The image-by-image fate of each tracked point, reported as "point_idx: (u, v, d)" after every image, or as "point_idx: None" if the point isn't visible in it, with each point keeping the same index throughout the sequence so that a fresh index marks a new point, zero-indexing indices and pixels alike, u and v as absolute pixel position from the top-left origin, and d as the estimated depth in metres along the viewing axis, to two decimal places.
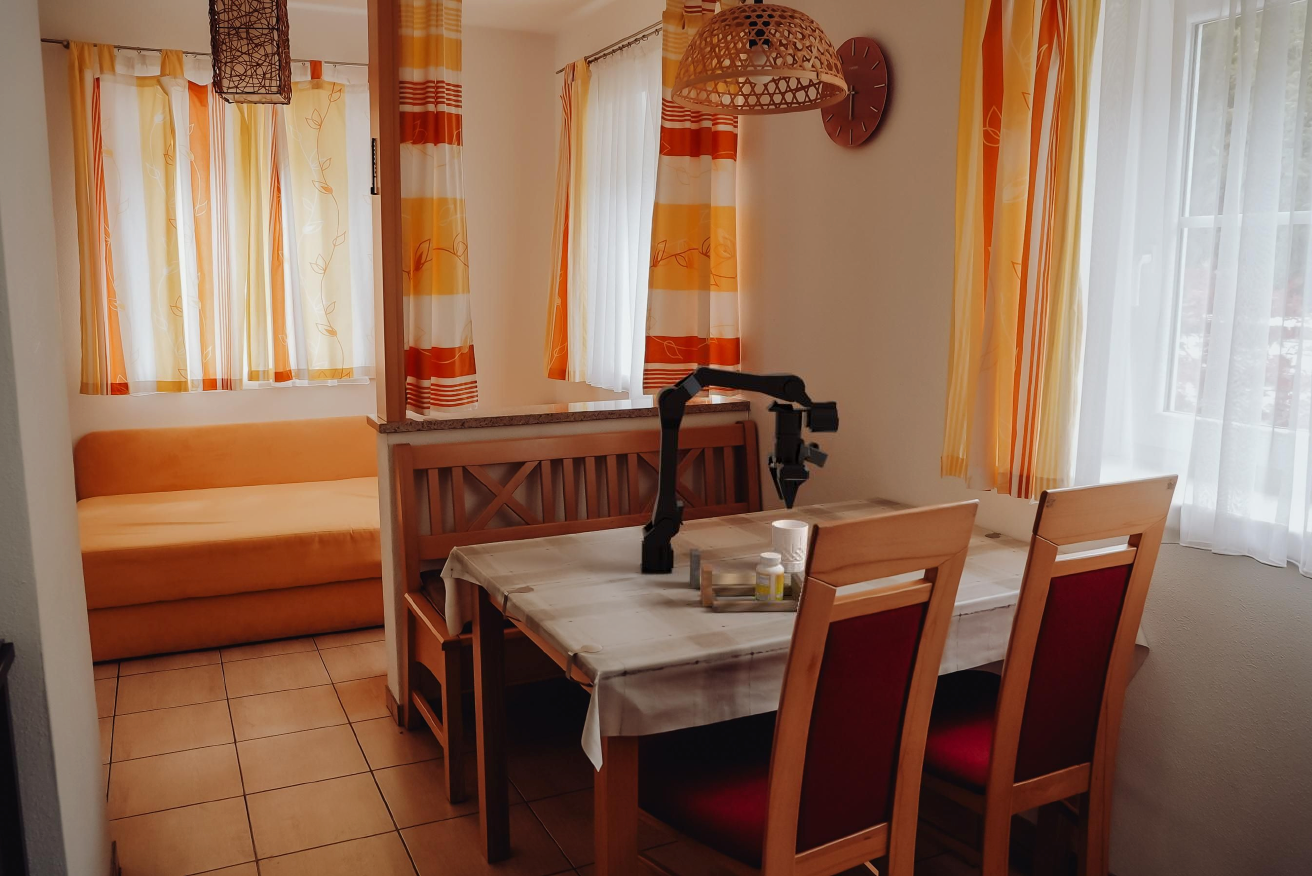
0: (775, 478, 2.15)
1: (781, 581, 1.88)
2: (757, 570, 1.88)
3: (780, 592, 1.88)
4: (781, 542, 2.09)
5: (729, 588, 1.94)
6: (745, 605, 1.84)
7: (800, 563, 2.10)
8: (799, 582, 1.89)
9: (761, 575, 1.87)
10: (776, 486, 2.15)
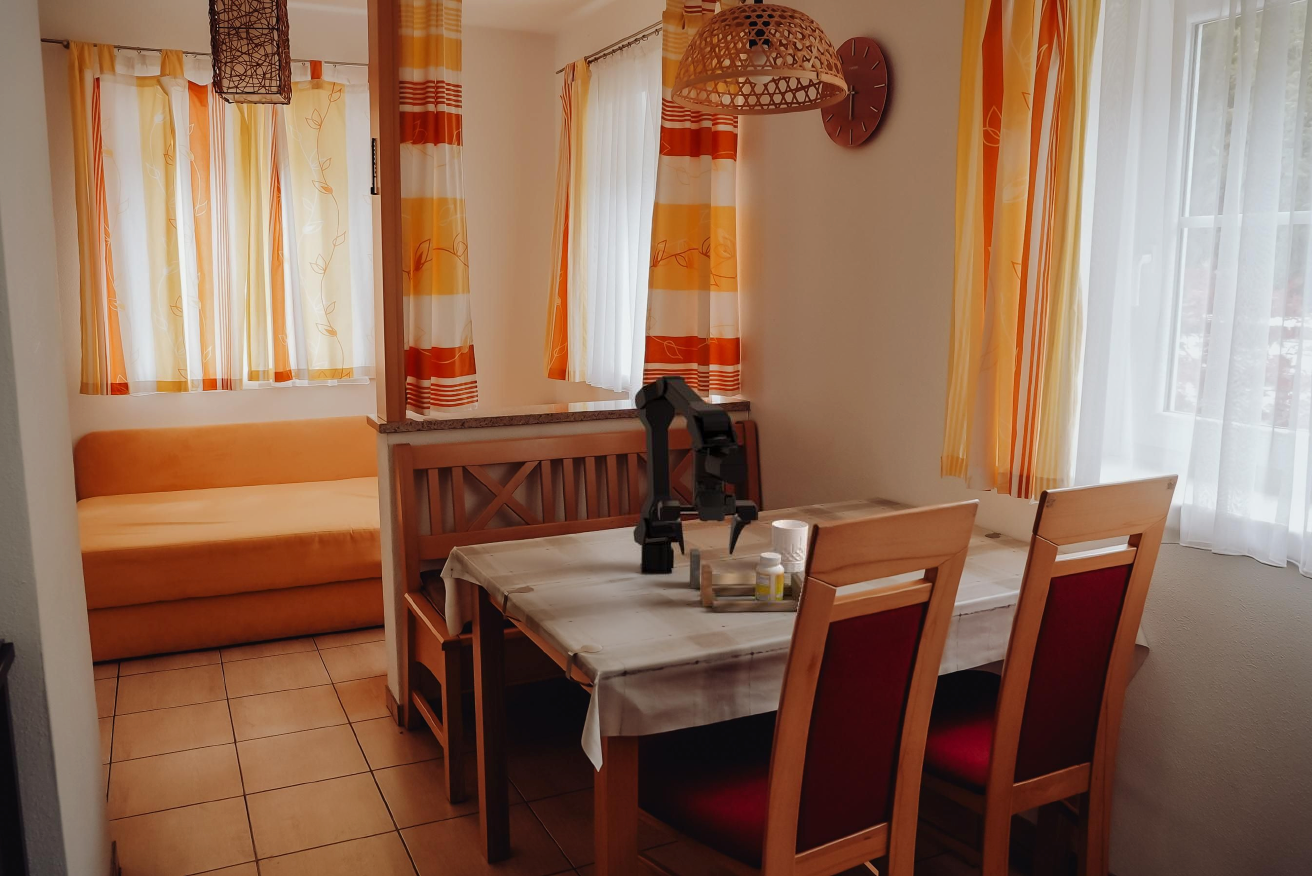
0: (732, 528, 1.89)
1: (781, 581, 1.88)
2: (757, 570, 1.88)
3: (780, 592, 1.88)
4: (781, 542, 2.09)
5: (729, 588, 1.94)
6: (745, 605, 1.84)
7: (800, 563, 2.10)
8: (799, 582, 1.89)
9: (761, 575, 1.87)
10: (730, 537, 1.89)
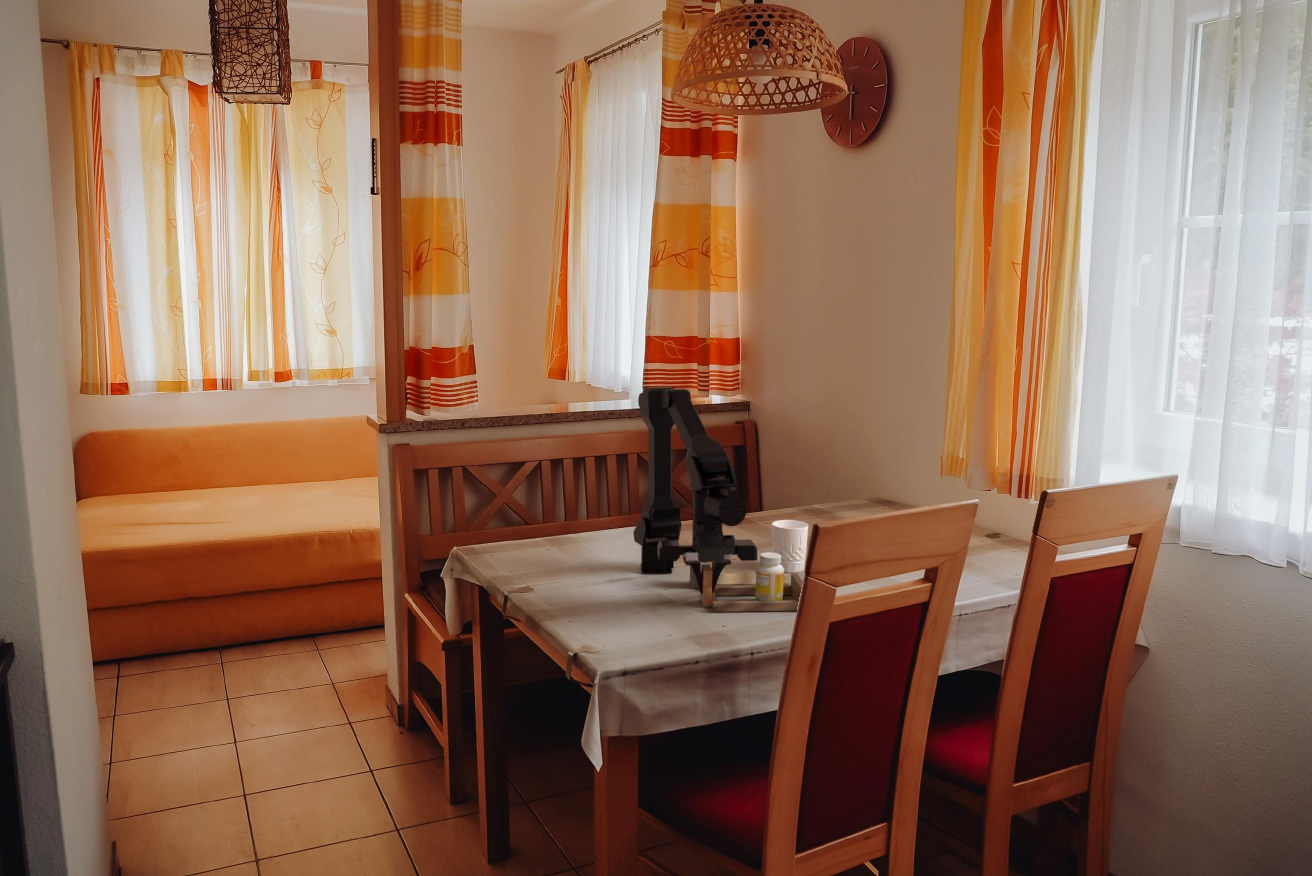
0: (712, 567, 1.90)
1: (781, 581, 1.88)
2: (757, 570, 1.88)
3: (780, 592, 1.88)
4: (781, 542, 2.09)
5: (729, 588, 1.94)
6: (745, 605, 1.84)
7: (800, 563, 2.10)
8: (799, 582, 1.89)
9: (761, 575, 1.87)
10: None
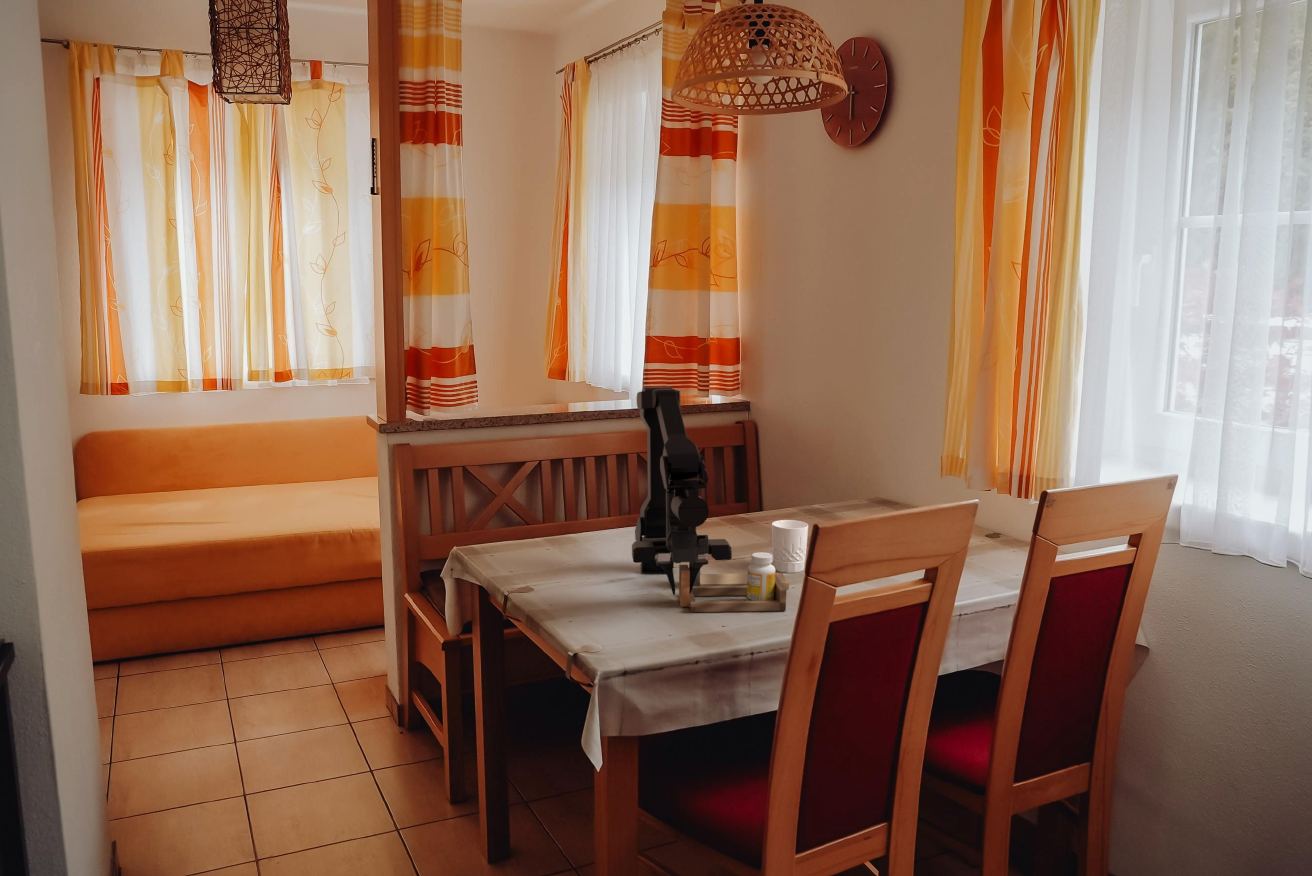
0: (690, 567, 1.90)
1: (772, 581, 1.88)
2: (748, 570, 1.88)
3: (771, 592, 1.88)
4: (781, 542, 2.09)
5: (707, 588, 1.93)
6: (722, 605, 1.84)
7: (800, 563, 2.10)
8: (777, 582, 1.89)
9: (753, 575, 1.87)
10: None
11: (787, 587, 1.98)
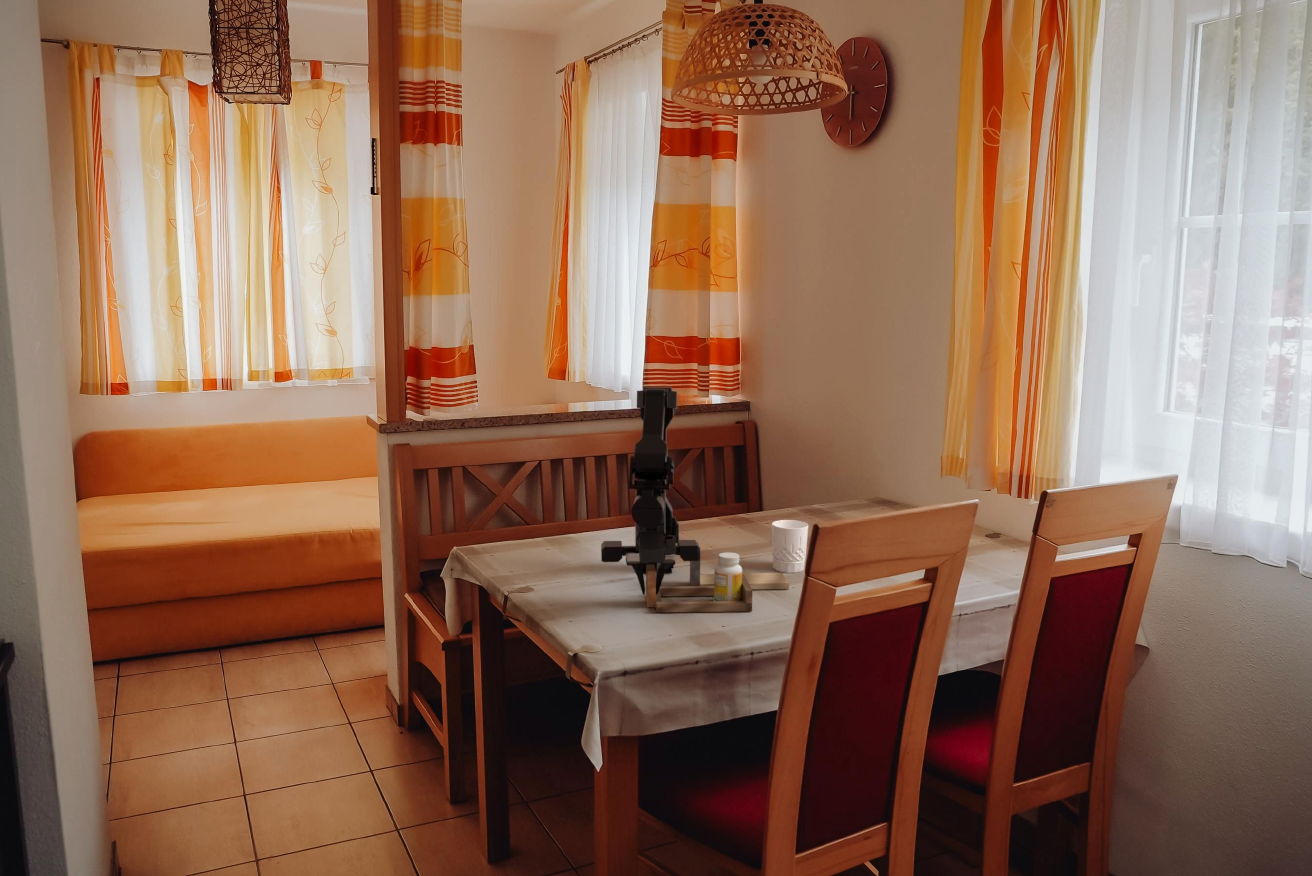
0: (658, 567, 1.89)
1: (739, 581, 1.87)
2: (715, 570, 1.88)
3: (738, 592, 1.87)
4: (781, 542, 2.09)
5: (675, 589, 1.93)
6: (688, 606, 1.83)
7: (800, 563, 2.10)
8: (744, 583, 1.89)
9: (719, 575, 1.87)
10: None
11: (787, 587, 1.98)
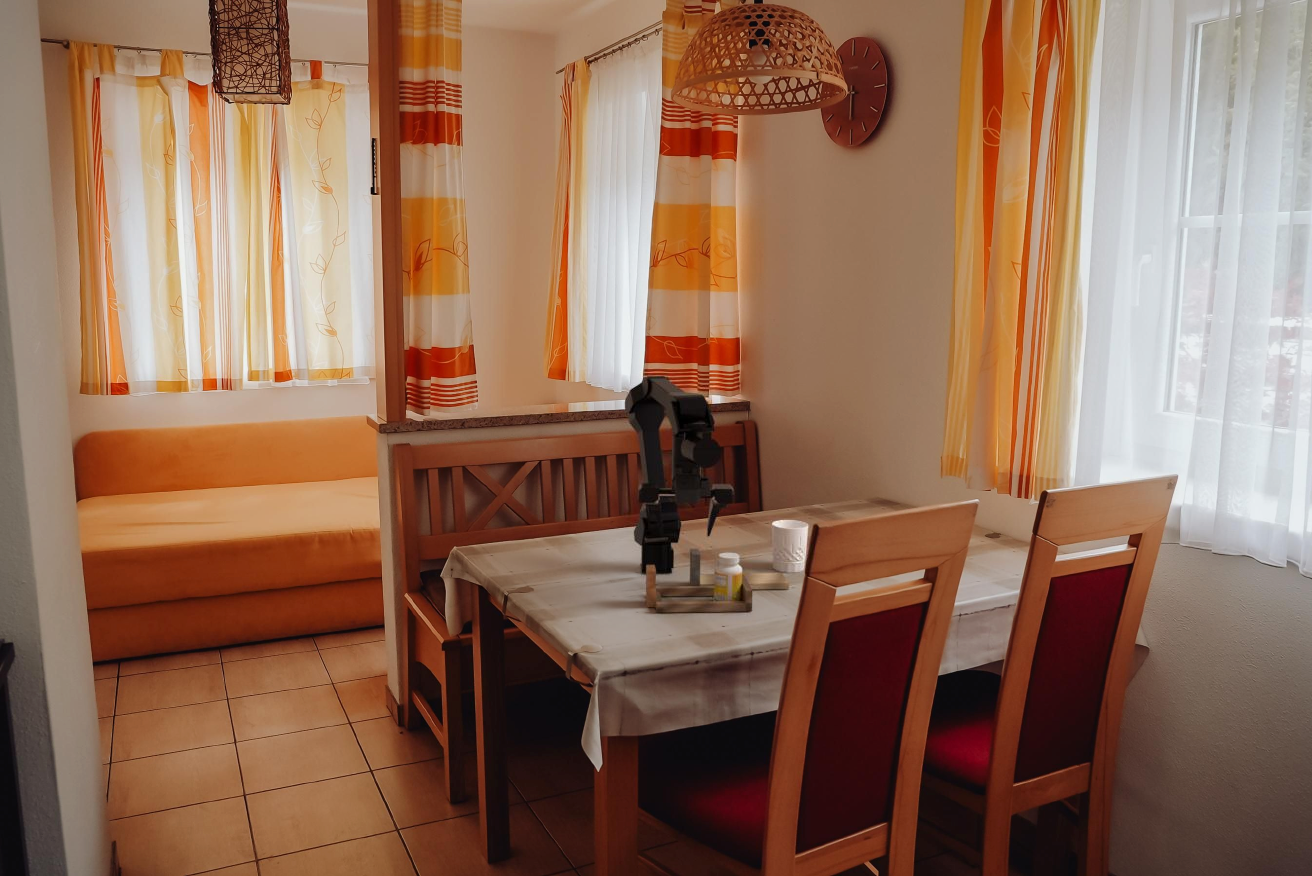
0: (710, 510, 1.95)
1: (739, 581, 1.87)
2: (715, 570, 1.88)
3: (738, 593, 1.87)
4: (781, 542, 2.09)
5: (675, 589, 1.93)
6: (688, 606, 1.83)
7: (800, 563, 2.10)
8: (744, 583, 1.89)
9: (719, 575, 1.87)
10: (708, 519, 1.95)
11: (787, 587, 1.98)
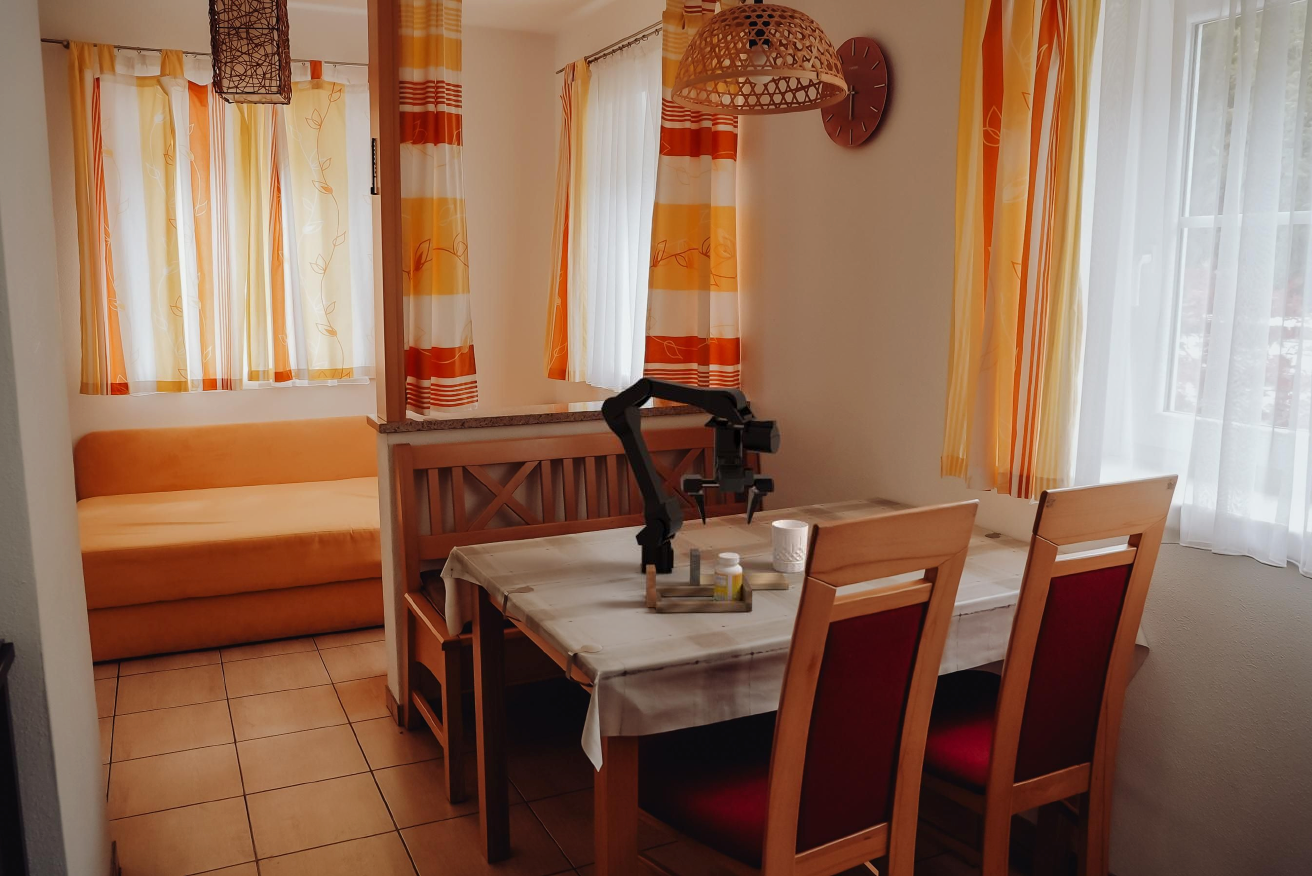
0: (749, 500, 2.04)
1: (739, 581, 1.87)
2: (715, 570, 1.88)
3: (738, 593, 1.87)
4: (781, 542, 2.09)
5: (675, 589, 1.93)
6: (688, 606, 1.83)
7: (800, 563, 2.10)
8: (744, 583, 1.89)
9: (719, 575, 1.87)
10: None
11: (787, 587, 1.98)
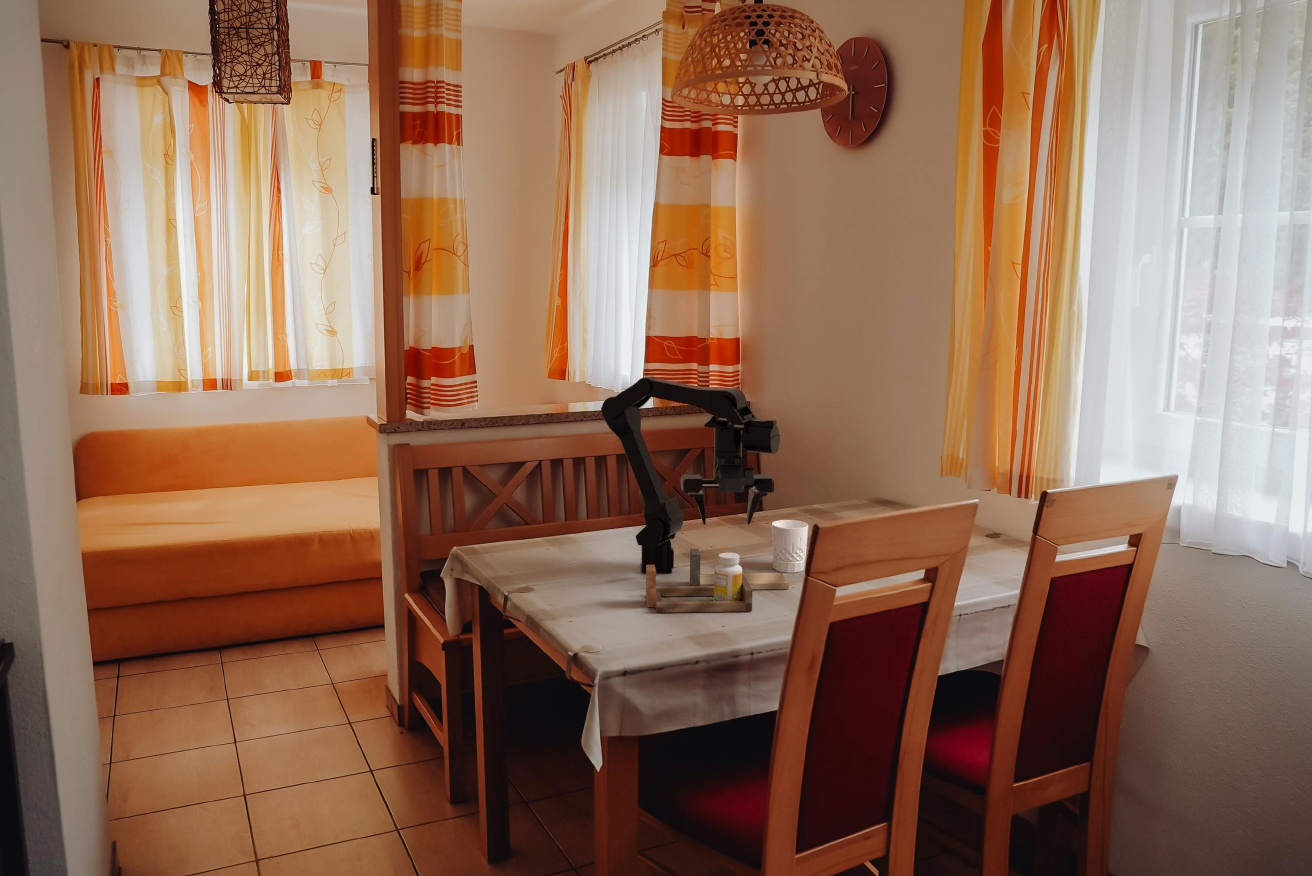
0: (749, 500, 2.04)
1: (739, 581, 1.87)
2: (715, 570, 1.88)
3: (738, 593, 1.87)
4: (781, 542, 2.09)
5: (675, 589, 1.93)
6: (688, 606, 1.83)
7: (800, 563, 2.10)
8: (744, 583, 1.89)
9: (719, 575, 1.87)
10: None
11: (787, 587, 1.98)
